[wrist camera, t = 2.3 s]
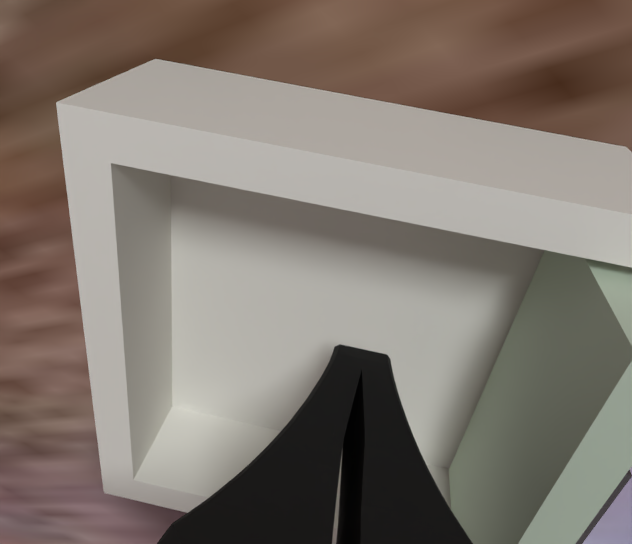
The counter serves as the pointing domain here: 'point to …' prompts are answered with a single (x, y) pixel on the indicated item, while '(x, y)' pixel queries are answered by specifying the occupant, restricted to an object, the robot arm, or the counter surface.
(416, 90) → the counter surface
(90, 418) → the counter surface
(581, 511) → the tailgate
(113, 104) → the white open tray
